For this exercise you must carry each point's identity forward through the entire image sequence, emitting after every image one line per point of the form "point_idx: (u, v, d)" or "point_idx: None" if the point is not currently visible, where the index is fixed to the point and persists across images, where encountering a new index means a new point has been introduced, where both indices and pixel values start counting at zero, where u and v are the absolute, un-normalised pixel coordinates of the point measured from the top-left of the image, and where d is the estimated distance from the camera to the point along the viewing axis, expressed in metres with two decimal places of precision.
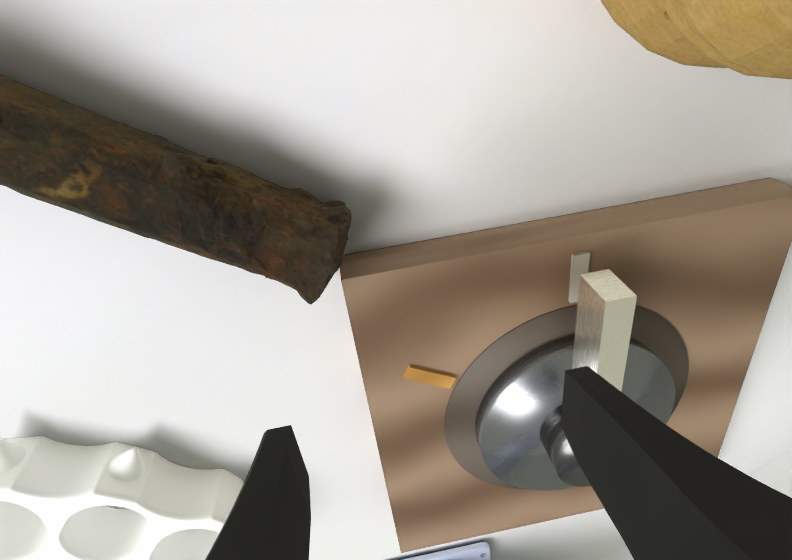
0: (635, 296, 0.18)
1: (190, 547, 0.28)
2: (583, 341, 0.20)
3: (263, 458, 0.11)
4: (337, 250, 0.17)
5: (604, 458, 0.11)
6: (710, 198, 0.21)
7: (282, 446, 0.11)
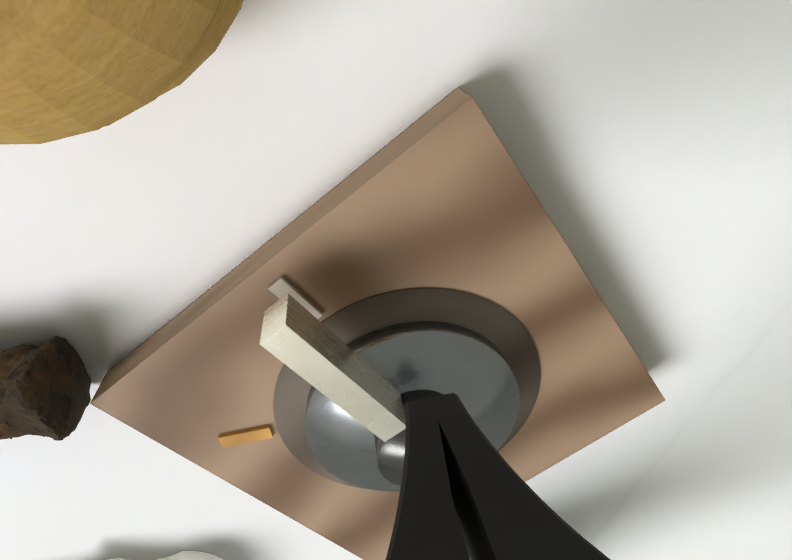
0: (284, 325, 0.16)
1: None
2: None
3: (417, 427, 0.11)
4: (28, 398, 0.19)
5: (455, 490, 0.11)
6: (386, 153, 0.18)
7: (432, 416, 0.11)
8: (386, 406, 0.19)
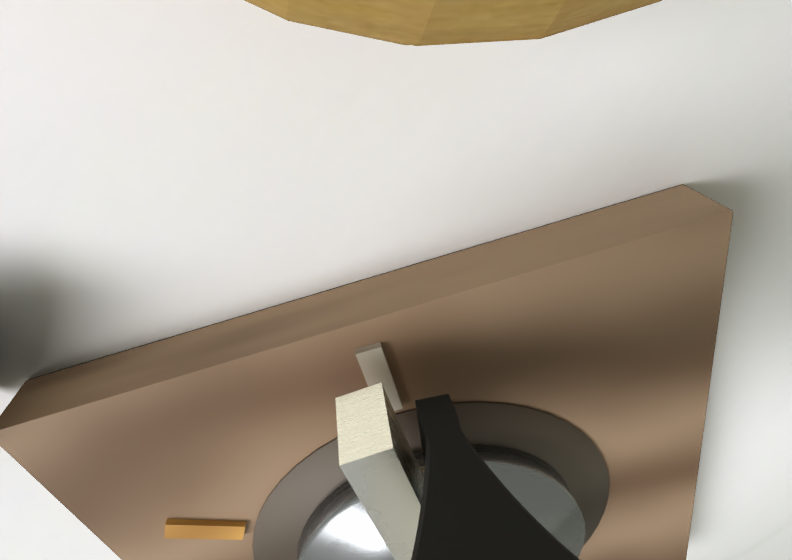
0: (390, 449, 0.10)
1: None
2: None
3: (437, 423, 0.11)
4: None
5: None
6: (579, 231, 0.13)
7: (451, 412, 0.11)
8: None
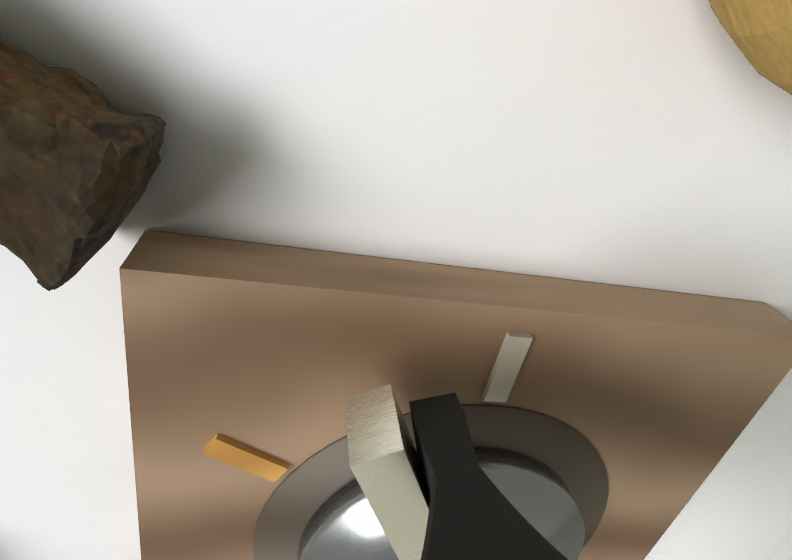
0: (401, 450, 0.10)
1: None
2: None
3: (444, 421, 0.11)
4: (99, 191, 0.09)
5: None
6: (697, 307, 0.16)
7: (458, 410, 0.11)
8: None
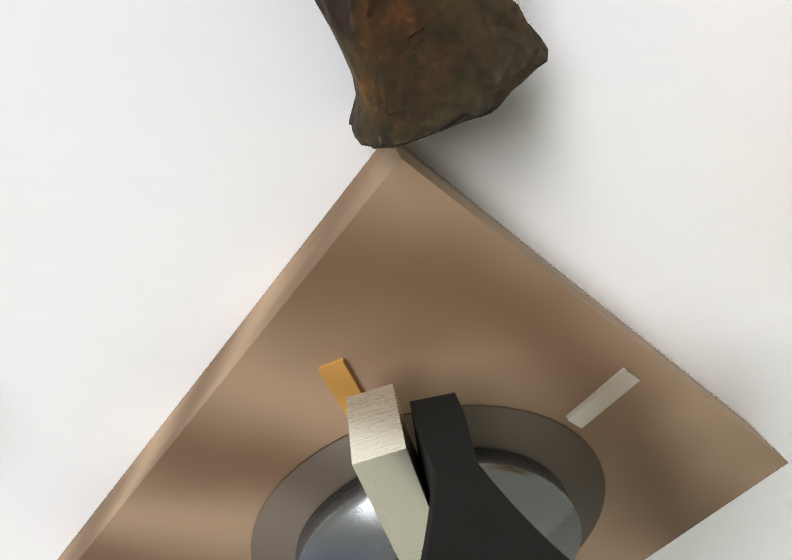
0: (403, 449, 0.10)
1: None
2: None
3: (444, 421, 0.11)
4: (509, 83, 0.09)
5: None
6: (724, 407, 0.18)
7: (458, 410, 0.11)
8: None
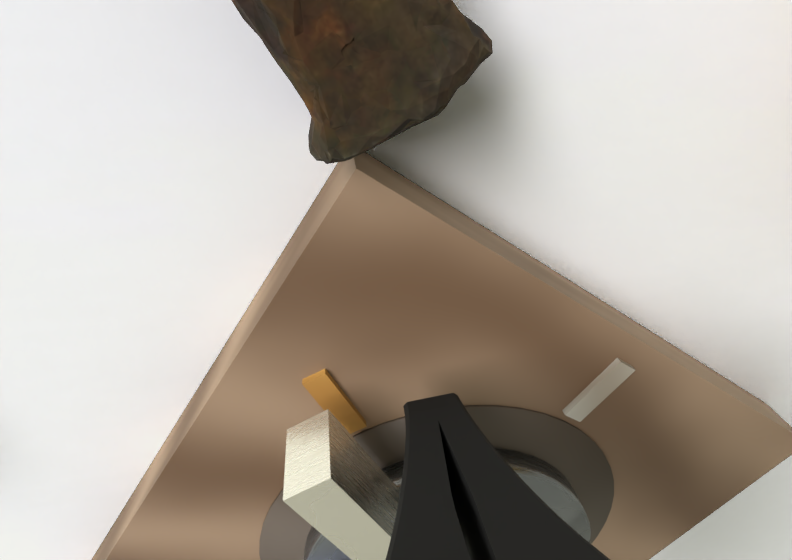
0: (328, 479, 0.10)
1: None
2: None
3: (417, 426, 0.11)
4: (452, 82, 0.08)
5: (455, 489, 0.11)
6: (734, 389, 0.18)
7: (432, 416, 0.11)
8: None
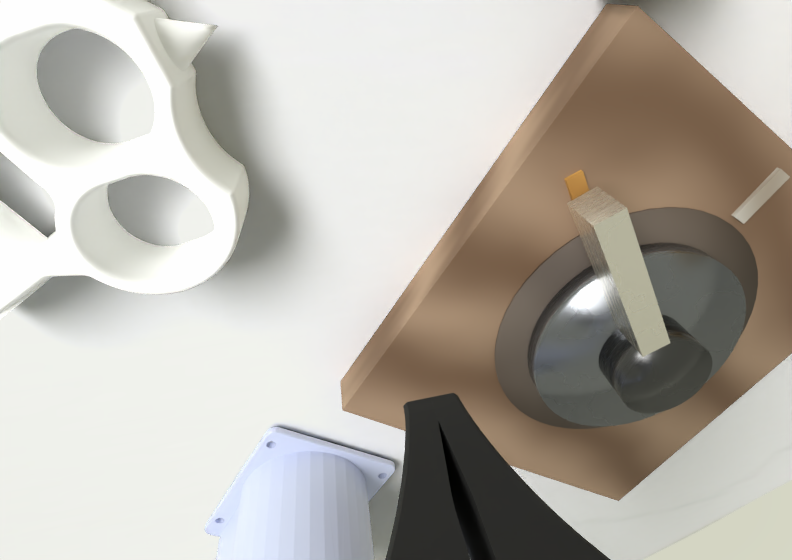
0: (625, 208, 0.16)
1: (110, 239, 0.18)
2: (598, 268, 0.19)
3: (417, 427, 0.11)
4: None
5: (455, 490, 0.11)
6: None
7: (432, 416, 0.11)
8: (660, 317, 0.19)
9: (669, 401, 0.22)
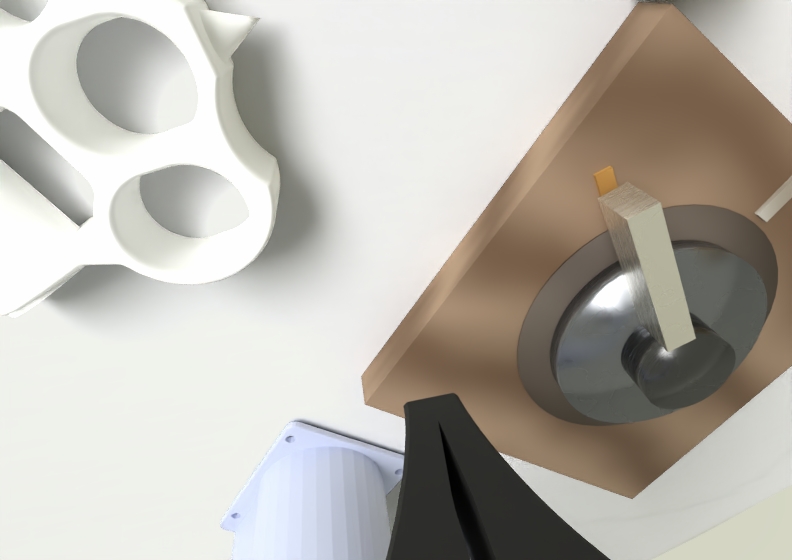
0: (658, 203, 0.16)
1: (143, 229, 0.18)
2: (627, 264, 0.19)
3: (417, 427, 0.11)
4: None
5: (455, 490, 0.11)
6: None
7: (432, 416, 0.11)
8: (687, 313, 0.19)
9: (691, 397, 0.22)
